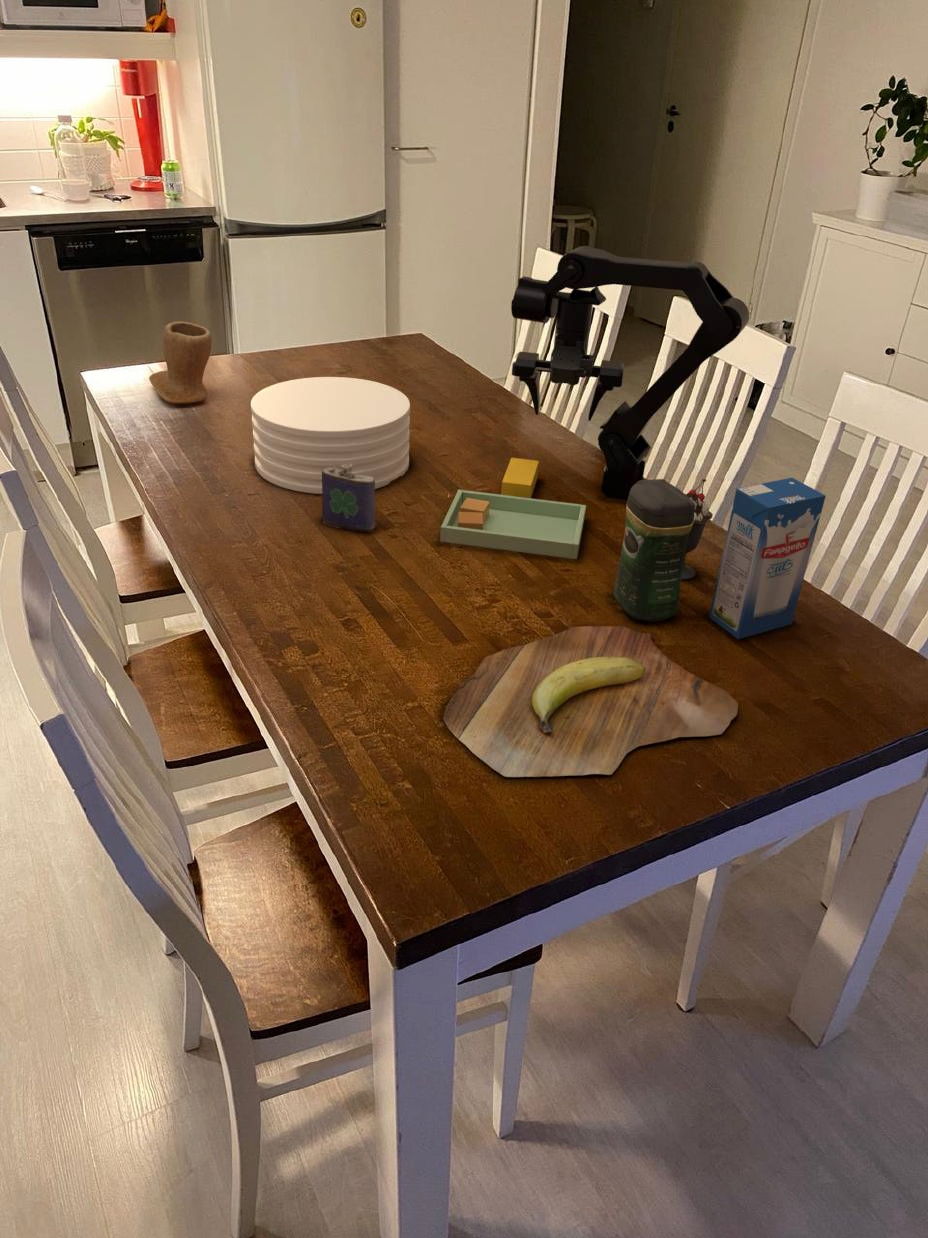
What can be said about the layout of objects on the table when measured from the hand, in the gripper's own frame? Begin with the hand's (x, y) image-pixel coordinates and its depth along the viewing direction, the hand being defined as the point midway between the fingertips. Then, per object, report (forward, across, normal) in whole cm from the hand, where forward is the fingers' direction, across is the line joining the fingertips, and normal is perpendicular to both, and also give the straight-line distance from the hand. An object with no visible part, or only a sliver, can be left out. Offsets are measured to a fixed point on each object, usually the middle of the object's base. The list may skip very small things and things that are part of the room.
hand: (563, 417), depth 171 cm
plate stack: (+12, -41, -4) cm, 43 cm away
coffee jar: (+12, +17, -41) cm, 46 cm away
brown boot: (+12, -81, +21) cm, 85 cm away
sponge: (+12, -6, -7) cm, 15 cm away
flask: (+12, -31, -28) cm, 43 cm away
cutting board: (+12, +10, -66) cm, 68 cm away
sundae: (+12, +22, -29) cm, 38 cm away
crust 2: (+11, -11, -26) cm, 30 cm away
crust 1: (+11, -12, -21) cm, 26 cm away
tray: (+12, -4, -23) cm, 26 cm away
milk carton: (+12, +32, -41) cm, 53 cm away
